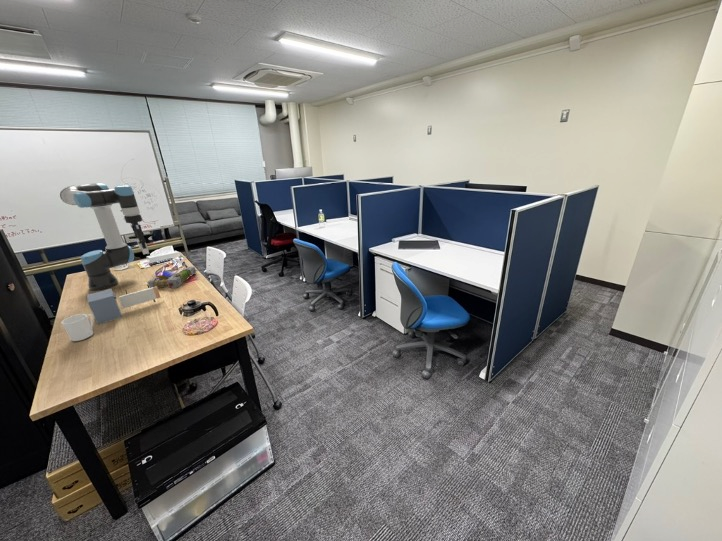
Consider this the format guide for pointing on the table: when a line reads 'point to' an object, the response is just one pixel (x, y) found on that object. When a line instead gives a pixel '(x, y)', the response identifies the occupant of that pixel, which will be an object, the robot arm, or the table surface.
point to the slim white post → (139, 297)
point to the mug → (78, 327)
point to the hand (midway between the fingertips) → (144, 251)
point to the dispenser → (104, 306)
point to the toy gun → (172, 279)
